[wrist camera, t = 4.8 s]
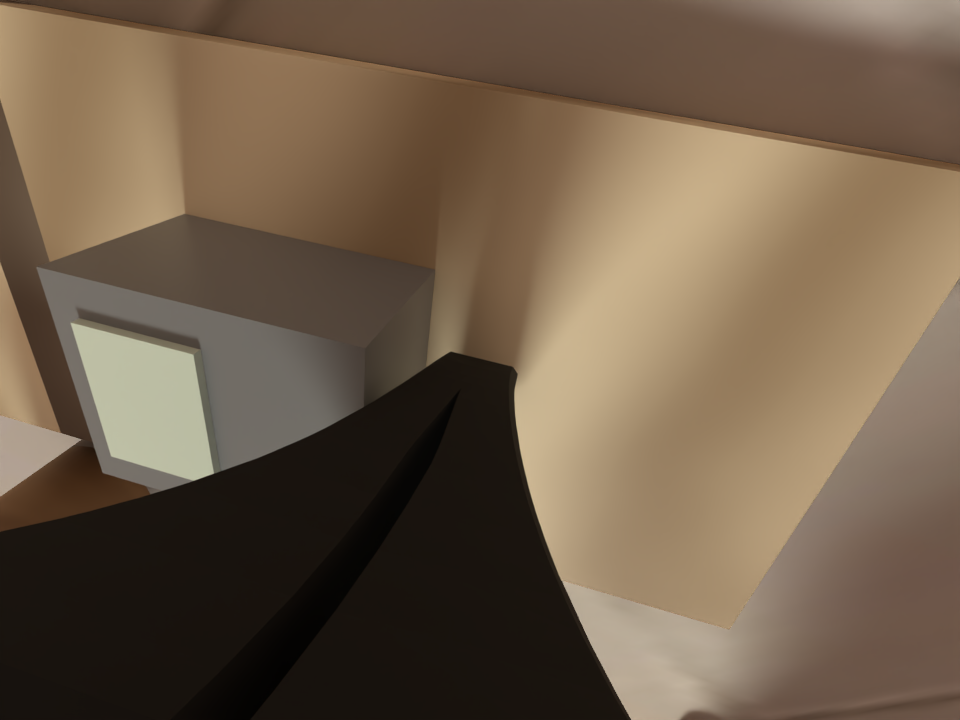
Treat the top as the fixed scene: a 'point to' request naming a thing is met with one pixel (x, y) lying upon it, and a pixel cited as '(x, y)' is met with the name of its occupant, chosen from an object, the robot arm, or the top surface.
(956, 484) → the top surface
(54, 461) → the brown cylinder
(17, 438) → the top surface
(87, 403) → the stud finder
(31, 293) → the plywood board
